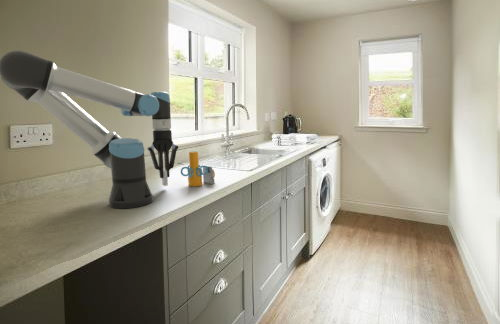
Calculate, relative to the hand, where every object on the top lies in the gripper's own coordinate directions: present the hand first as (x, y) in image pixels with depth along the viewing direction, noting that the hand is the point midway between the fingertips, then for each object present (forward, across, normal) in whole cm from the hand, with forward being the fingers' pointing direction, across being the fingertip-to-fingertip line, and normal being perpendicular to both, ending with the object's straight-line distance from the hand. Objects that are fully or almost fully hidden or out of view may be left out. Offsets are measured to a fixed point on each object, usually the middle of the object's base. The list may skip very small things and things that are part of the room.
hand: (165, 185), depth 149 cm
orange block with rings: (+2, +14, 0) cm, 14 cm away
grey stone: (+2, +20, 0) cm, 20 cm away
